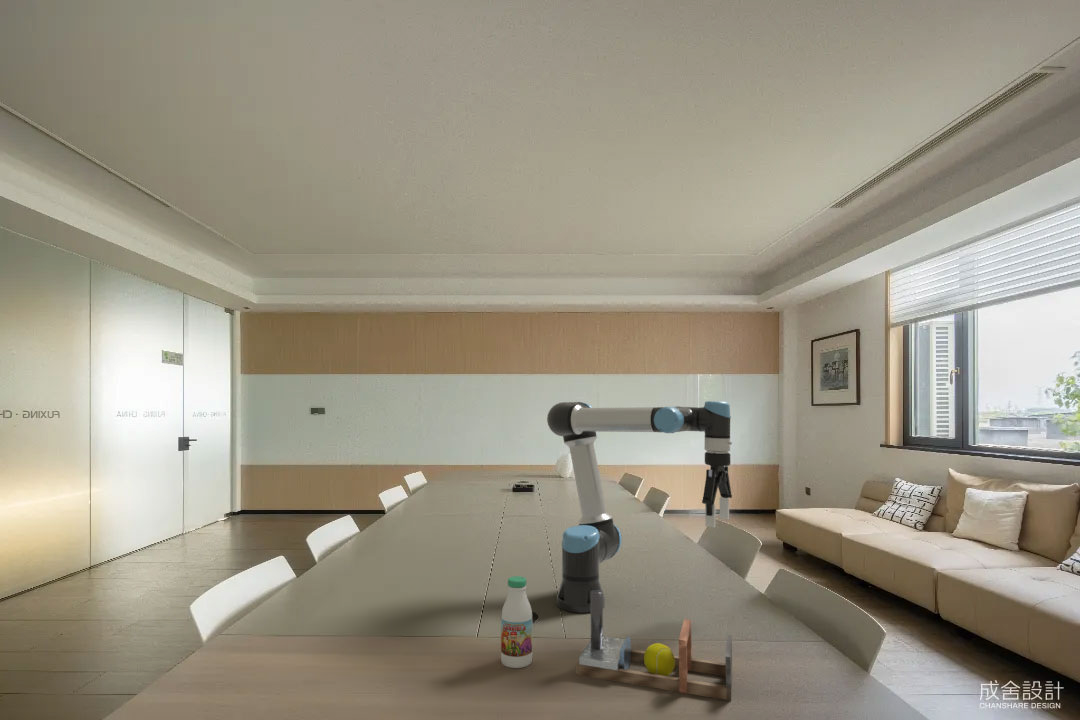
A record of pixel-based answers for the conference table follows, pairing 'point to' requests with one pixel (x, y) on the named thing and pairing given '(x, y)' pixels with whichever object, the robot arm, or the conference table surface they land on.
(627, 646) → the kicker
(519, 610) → the milk bottle
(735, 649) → the conference table surface
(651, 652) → the tennis ball
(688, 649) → the lane
